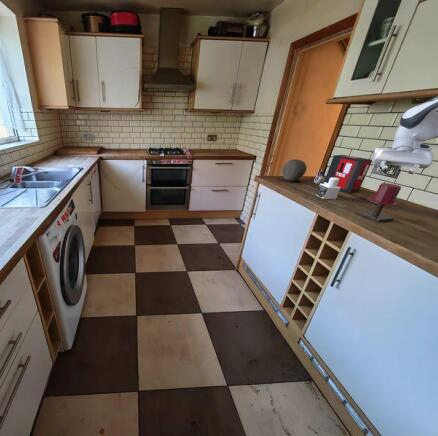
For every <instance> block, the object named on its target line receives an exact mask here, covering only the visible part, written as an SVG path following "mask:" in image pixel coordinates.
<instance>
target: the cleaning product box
mask: <svg viewBox="0 0 438 436" xmlns="http://www.w3.org/2000/svg"><path fill="white" fill-rule="evenodd" d="M372 159H373V158H372ZM372 159H370V158H366V157H365V158H364V157H358V156H354V155H346V154H334V155H333V157H332V158H331V162H330V165H329V167H328V170H327V172H326V175H325V178H324V180H323V183H322V184H324V182H325V179H326V177H328V176H333V177H337V178H339V182H338V184H337V185H336V186H338V187H340V190H339V192H344V193H347V194H353V193H354V194H355V193H359V191H360V190H361V187H362V185H363V184H364V180H365V178H366V176H367V174H368V172H369V169H370V167H371V165H372V164H373V162H372Z"/></svg>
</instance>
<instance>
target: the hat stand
mask: <svg viewBox="0 0 438 436" xmlns="http://www.w3.org/2000/svg"><path fill="white" fill-rule="evenodd" d="M384 207H385V205H381V204H377V206H376V207H375V210H364V211H362V210H361V211H358V212H357V215H359V216H362V217H365V218H367V219H370V220H372V221H374V222H376V223H377V222H378V223H382V222H393V221H394V220H395V217H392V216H389V215H386V214H383V213H382V211H383V208H384Z"/></svg>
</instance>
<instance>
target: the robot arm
mask: <svg viewBox="0 0 438 436" xmlns="http://www.w3.org/2000/svg"><path fill="white" fill-rule="evenodd" d="M437 138H438V95H437V96H434V97H432V98H430V99H429V100H427V101H424V102H422V103H419V104H416V105H414V106H412V107H410V108H408V109H406V110H405V111H404V112H403V113H402V115H401V117H400V119H399V125H398V127H397V129H396V130H395V133H394V137H393V142H392V144H391V146H378V147H376V148H374V151H373V153H374V155H373V156H372V164H379V165H380V167H381V172H382V171H383V172H386V171H388V168H389V167H388V165H390V166H398V167H406V168H411V169H409V171H408V175H414V174H415V172H416V171H417V170H418V169H425V170H426V169H428V168H429V167H431V166H432V164H433V162H434V153H433V151H432V149H433V146H432V145H429V144H427V143H423V142H425V141H429V140H434V139H437Z"/></svg>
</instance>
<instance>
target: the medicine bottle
mask: <svg viewBox="0 0 438 436" xmlns="http://www.w3.org/2000/svg"><path fill="white" fill-rule="evenodd" d="M325 178H326V179H325ZM325 178H324V180H325V182H324V181H323V183H324V184H323V183H318V187H317V190H316V193H315V196H316V197H319V198H321V199H322V200H337V198H338V194H339V193H340V187H338V186H336V185H337V184H338V182H339V178H337V177H333V176H328V177H326V176H325Z"/></svg>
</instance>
